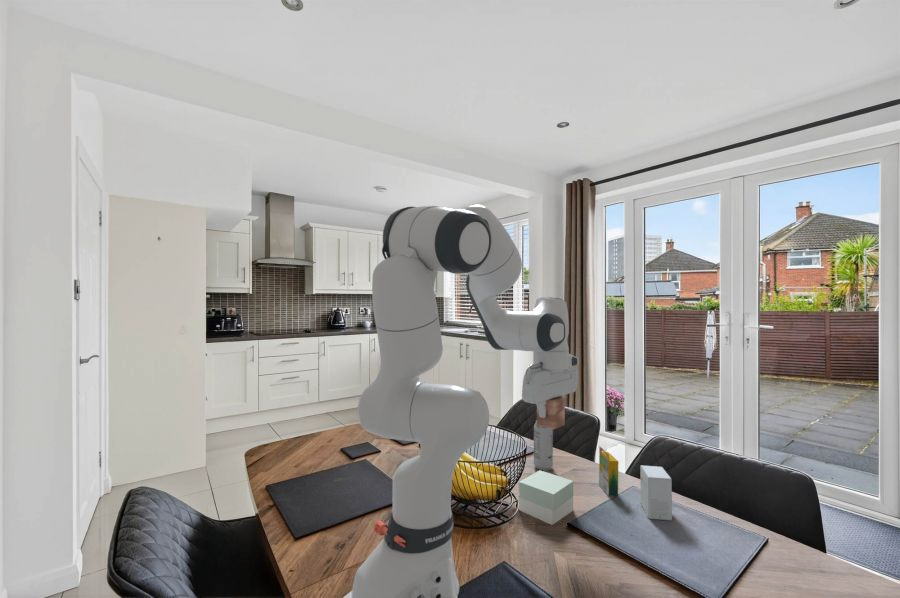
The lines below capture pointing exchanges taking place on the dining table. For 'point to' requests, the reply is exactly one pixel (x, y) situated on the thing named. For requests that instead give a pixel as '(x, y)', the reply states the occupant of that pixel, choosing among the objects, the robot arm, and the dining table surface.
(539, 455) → the energy drink can
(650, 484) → the small box
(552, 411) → the terracotta block
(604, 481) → the crayon box
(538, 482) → the tower top block
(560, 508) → the tower base block
